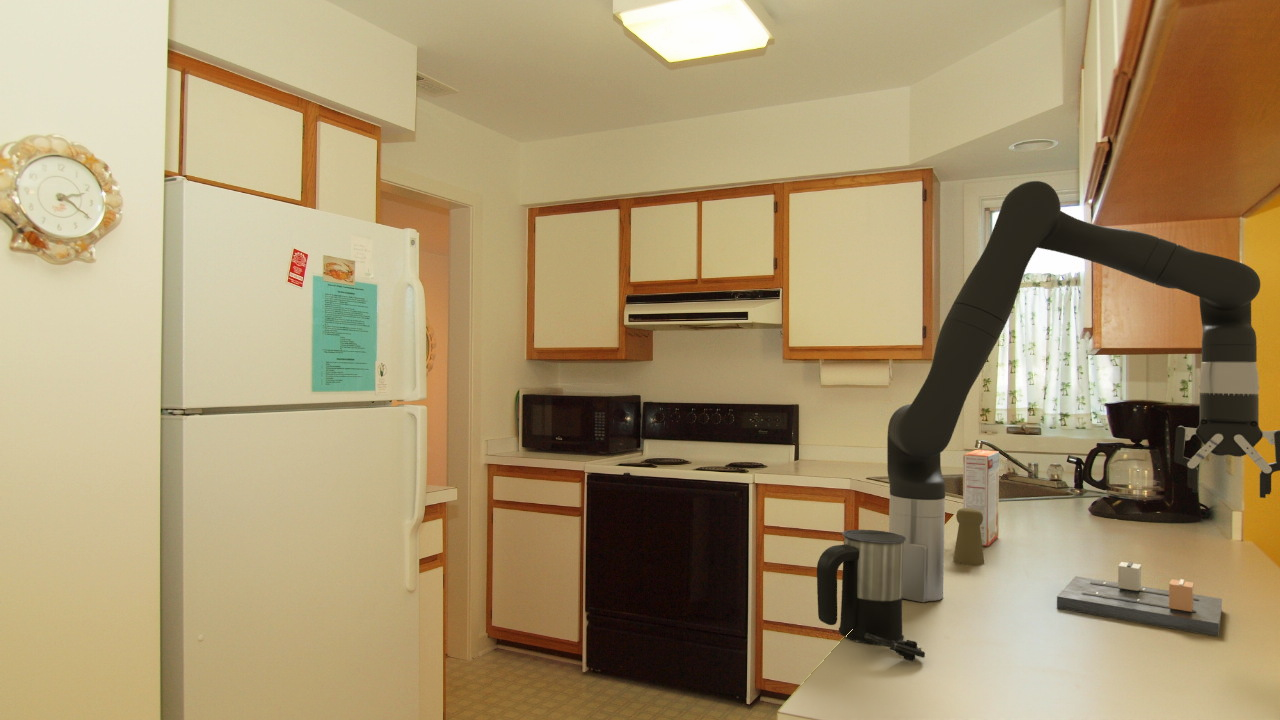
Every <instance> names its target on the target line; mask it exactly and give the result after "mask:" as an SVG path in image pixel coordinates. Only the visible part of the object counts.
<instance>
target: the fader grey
mask: <svg viewBox="0 0 1280 720" xmlns="http://www.w3.org/2000/svg"><path fill="white" fill-rule="evenodd" d="M1117 568H1118V577H1117V578H1118V579H1117V580H1118V581H1117V583H1118V588H1123V589H1129V590H1136V591H1139V589H1140V587H1141V586H1142V564H1140V563H1134V562H1133V561H1129V562H1125V561H1121V562H1120V563H1119V565H1118V567H1117Z"/></svg>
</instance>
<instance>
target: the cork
mask: <svg viewBox="0 0 1280 720" xmlns="http://www.w3.org/2000/svg"><path fill="white" fill-rule="evenodd" d="M955 515H956V521H957V522H958V527H957V535H956V541H955V547H954V554H953V562H955V563H959V564H963V565H969V566H981V565H984V564H985V559H984V549H983V547H984V546H982V539H981V530H980V525H981V524H982V522H983V514H982V512H981V511H979V510H977V509H973V508H963V507H962V508H959V509H958V510H957V512H956V514H955Z"/></svg>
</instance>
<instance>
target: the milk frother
mask: <svg viewBox="0 0 1280 720" xmlns="http://www.w3.org/2000/svg"><path fill="white" fill-rule="evenodd" d="M841 535H842V536H843V539H844V540H843V541H844V542H843V544H838V545H831V546H830V547H828V548H826V549H825V550H824V551H823V552H822V553H821V555H820V556H819V559H818V561H817V563H816V564H817V565H816V585H817V586H816V588H817V589H816V593H817V615H818V620H819V621H820V622H822V623H824V624H826V625H827V626H834V625H836V624H837V622H838V570H839V567H840V566H841V565H842V578H841V580H842V581H841V587H842V588H841V602H840V603H841V607H840V621H839V622H840V623H839V627H838V633H839V634H840V635H841V636H842V637H844V638H846V639H848V640H849V641H850V640H851V641H852V642H853V641H854V642H857V643H861V644H866V645H874V646H875V645H876V646H877V645H878V646H884V647H887V648H889V650H891V651H894V652H895V653H896V654H897V655H898V656H901V657H903V660H905V661H909V662H914V661H915V658H916V657H919V658H925V657H926V652H925V651H923V650H922V647H918V642H916V641H914V640H909V639H907V640H906V641H905V637H904V634H903V598H902V590H903V556H904V541H906V537H904V536H902V535H898V534H895V533H891V532H889V531H884V530H874V529H850V530H848V529H847V530H844V531H842V532H841ZM852 629H853V630H852ZM851 630H852V631H851ZM850 631H851V632H850ZM849 632H850V633H849ZM848 633H849V634H848ZM847 634H848V635H847ZM846 635H847V637H845V636H846Z"/></svg>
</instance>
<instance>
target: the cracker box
mask: <svg viewBox="0 0 1280 720" xmlns="http://www.w3.org/2000/svg"><path fill="white" fill-rule="evenodd" d="M962 456H963V458H962V460H963V462H962V463H963V464H962V465H963V467H962V468H963V469H962V470H963V471H962V472H963V473H962V475H963V476H962V477H963V481H962V483H963V485H962V486H963V487H962V488H963V489H962V490H963V491H962V493H963V498H962V499H963V500H962V503H963V504H962V508H973V509H977V510H979V511H981V512H982V514H983V522H982V524H981V525H980V530H981V539H982V547H990V545H992V543H994V542H995V540H996V539H997V538H998V537H999V532H1000V531H999V529H1000V528H999V520H1000V519H999V517H1000V516H999V515H1000V514H999V513H1000V510H999V508H1000V507H999V505H1000V503H999V502H1000V501H999V500H1000V499H999V495H1000V494H999V493H1000V492H999V490H1000V489H999V487H1000V483H999V482H1000V480H999V479H1000V477H999V476H1000V451H998V450H986V449H975V450H972V451H969V452H967V453H964V454H963V455H962Z"/></svg>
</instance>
